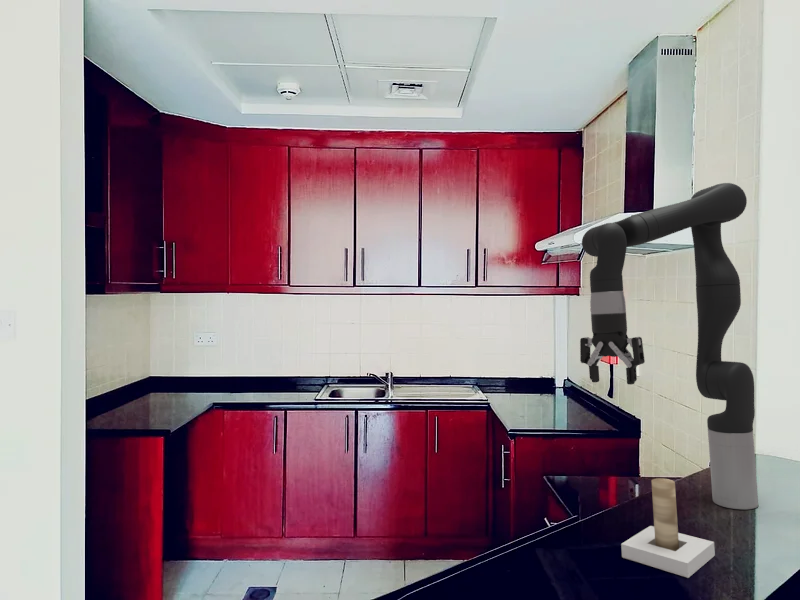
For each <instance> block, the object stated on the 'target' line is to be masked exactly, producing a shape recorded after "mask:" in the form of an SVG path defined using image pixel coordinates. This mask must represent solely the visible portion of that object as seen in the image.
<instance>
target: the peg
mask: <svg viewBox="0 0 800 600" xmlns="http://www.w3.org/2000/svg"><path fill="white" fill-rule="evenodd" d="M650 482H651V492H652V493H651V495H652V497H651V498H652V512H653V526H654V529H655V545H656V546H658V547H662V548H665V549H669V550H673V551H677V550H678V549H679V540H678V533H679V527H678V511H677V498H676V494H677V493H676V482H675V480H672V479H669V478H661V477H660V478H659V477H658V478H652V479H651V481H650Z"/></svg>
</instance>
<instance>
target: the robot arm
mask: <svg viewBox="0 0 800 600" xmlns="http://www.w3.org/2000/svg"><path fill="white" fill-rule="evenodd" d="M747 201H748V200H747V196H746V192H745V191H744V190H743V189H742V187H740V185H739V186H738V185H737V184H736V183H735V184H734V183H731V182H723V183H719V184H715V185H714V184H713V186H709V187H706V188H703V189H701V190H698V191H696V192H695V193H694V194H692V196H691V198H689V199H687V200H684V201H680V202H678V203H677V202H676V203H672V204H670V205H664V206H661V207H658V208H657V207H656V208H653V209H650V210H646V211H643V212H639V213H637V214H633V215H631V216H627V217H626V218H623V219H621V220H618V221H614V222H607V223H604V224H601V225H598V226H595V227H592V228H589V229H588V230H586V232H585V233H584V235H583V237H582V240H581V245H582V246H581V247H582V249H583V250H584V252H585V253H586V254H588V255H589V256H591V257H593V258H594V257H595V258H597V259H596V265H595V266H594V267H593V268H592V269H591V270H590V272H589V286H590V288H589V289H590V300H589V303H590V306H589V307H590V321H591V322H590V323H591V333H592V337H588V336H586V337H585V336H584V337H581V338H580V341H579V344H580V345H579V346H580V347H579V349H580V350H579V351H580V353H579V354H580V356H579V357H580V359H579V360H580V363H581V364H585V365H587V366H588V370H589V371H588V372H589V373H588V374H589V378H590V379H589V380H590V381H591V382H592V383H599V381H600V371H599V370H600V369H599V368H600V367H599V365H598V364H599V362H600V361H601V360H602V358H604V357H612V358H615V357H618V358H619V360H621V361H622V362H623V363H624V365H626V367H625V370H626V374H625V375H626V384H627V385H635V383H636V382H637V379H638V378H637V377H638V376H637V367H638V366H640V365H644V364H645V361H646V360H645V354H644V345H643V339H642V337H641V336H635V337H631V338H630V337H629V336H628V324H627V323H628V321H627V309H626V298H625V294H624V293H625V292H624V284H623V283H624V280H623V269H624V265H625V260H626V254H627V248H628V247H629V248H630V247H635V246H640V245H644V244H647V243H650V242H653V241H655V240H658V239H659V240H660V239H661V238H664V237H667V236H669V235H672V234H675V233H678V232H681V231H683V230H686V229H689V228H690V229H691V230H690V231H691V235H692V241H693V242H692V244H693V249H694V250H693V251H694V265H695V295H696V297H695V298H696V311H697V351H696V363H695V365H696V366H695V380H696V386H697V390H698V391H699V393H700V394H701V396H702V397H704V398H706V399H711V400H717V401H718V400H719V401H725V404H726V405H725V409H724V410H723V411H722V412H718V413H715V414H711V415H709V416H708V417H707V419H706V424H707V426H706V427H707V436H708V450H709V451H708V452H709V463H710V464H709V465H710V479H711V480H710V481H711V494H712V496H711V497H712V502H713V503H714V504H716V505H718V506H720V507H724V508H728V509H734V510H753V509H756V508H758V507H759V496H758V495H759V494H758V480H757V469H756V468H757V465H756V464H757V463H756V453H755V442H754V441H755V439H754V421H755V410H756V409H755V379H754V375H753V371H752V369H751V368H750V366H749V365H748V364H747V363H744V362H742V361H728V360H727V361H726V360H722V348H723V347H722V346H723V341H724V338H725V335H726V334H727V332H728V330H729V328H730V327H731V325H732V324H733V322H734V321H735V319H736V316H737V315H738V313H739V310H740V309H741V304H742V297H741V294H742V293H741V282H740V281H741V279H740V276H739V273H738V271H737V269H736V267H735V266H734V264H733V263H732V260H731V259H730V258H729V256H728V254H727V253H726V250H725V249H724V245H723V241H722V224H725V223H729V222H731V221H733V220H736V219H737V218H739V217H740V216H741V215H742V214H744V213H743V212H745V210H746V207H747ZM592 345H593V347H594V350H593V352H592V353H591V347H592ZM628 345H630V347H631V348H632V353H631V352H630V350H628V348H627V347H628Z"/></svg>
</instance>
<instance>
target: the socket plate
mask: <svg viewBox="0 0 800 600" xmlns="http://www.w3.org/2000/svg"><path fill="white" fill-rule="evenodd" d="M678 540H679V549H678V550H677V551H673V550H669V549H665V548H662V547H658V546H656V545H655V529H654V525H649V526H648V527H646V528H644V529H642V530H641V531H639V532H638V533H636V534H634V535H633V536H631V537H630V538H629V539H628V538H627V540H625V541H624V542H622V543H621V544H620V546H621V547H620V548H621V558H623V559H626V560H629V561H633V562H635V563H639V564H642V565H646V566H648V567H653V568H655V569H659V570H661V571H665V572H668V573H671V574H675V575H678V576H681V577H684V578H687V579H689V578H690V577H691V576H693V574H695V573H696V572H698V570H700V568H702V567H703V566H704V565H705V564H707V562H709V561H710V560H712V559H713V558H714V557H715V556H716V553H715V541H712V540H708V539H704V538H701V537H700V538H699V537H696V536H692V535H688V534H685V533H680V532H678Z"/></svg>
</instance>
